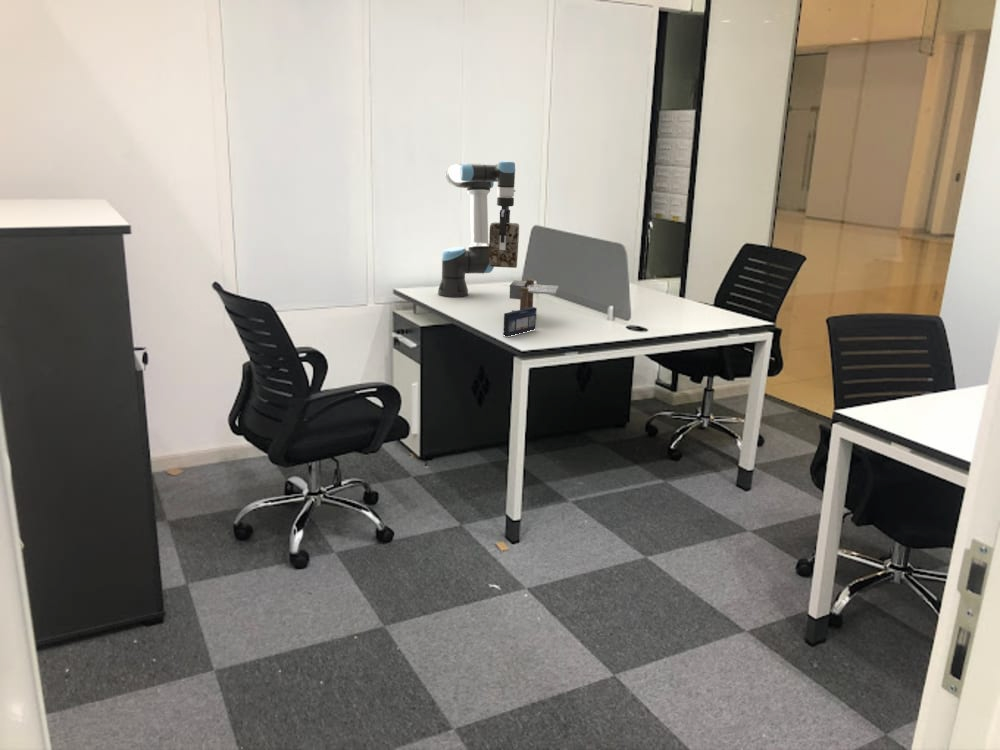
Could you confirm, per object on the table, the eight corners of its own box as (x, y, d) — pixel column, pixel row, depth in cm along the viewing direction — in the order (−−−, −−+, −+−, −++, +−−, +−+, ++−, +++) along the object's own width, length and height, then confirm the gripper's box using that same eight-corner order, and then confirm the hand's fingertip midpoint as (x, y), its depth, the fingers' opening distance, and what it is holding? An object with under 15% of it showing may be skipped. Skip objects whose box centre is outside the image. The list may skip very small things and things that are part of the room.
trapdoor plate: (508, 299, 351) (509, 285, 349) (514, 292, 366) (514, 279, 364) (554, 302, 348) (554, 289, 346) (557, 295, 363) (558, 282, 361)
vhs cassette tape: (507, 337, 327) (508, 314, 324) (502, 336, 329) (502, 312, 326) (536, 330, 340) (537, 308, 337) (531, 329, 342) (532, 306, 339)
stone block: (517, 266, 368) (519, 222, 362) (517, 269, 362) (518, 224, 356) (489, 265, 369) (490, 221, 363) (488, 267, 362) (489, 223, 356)
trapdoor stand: (504, 323, 350) (505, 287, 345) (512, 311, 373) (513, 277, 368) (529, 325, 349) (530, 289, 344) (535, 313, 371) (537, 279, 366)
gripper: (510, 198, 347) (508, 252, 354) (517, 195, 365) (515, 246, 371) (493, 197, 348) (491, 251, 355) (501, 195, 366) (499, 245, 372)
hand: (503, 248), depth 363 cm, fingers closed on stone block, 6 cm apart
